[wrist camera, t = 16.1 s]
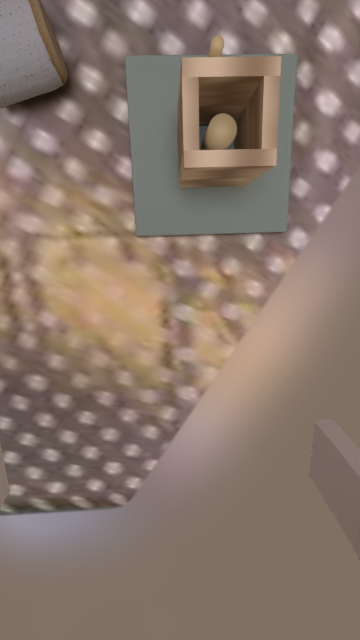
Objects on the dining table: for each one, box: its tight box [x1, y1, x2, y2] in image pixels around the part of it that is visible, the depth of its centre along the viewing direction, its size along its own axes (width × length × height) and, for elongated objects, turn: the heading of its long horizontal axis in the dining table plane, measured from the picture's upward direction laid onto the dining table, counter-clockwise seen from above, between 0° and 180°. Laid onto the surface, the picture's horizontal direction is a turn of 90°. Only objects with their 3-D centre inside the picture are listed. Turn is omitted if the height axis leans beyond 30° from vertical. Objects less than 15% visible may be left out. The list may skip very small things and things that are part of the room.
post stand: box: [125, 36, 297, 236], centre depth 32 cm, size 18×18×8 cm
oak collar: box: [177, 56, 281, 188], centre depth 30 cm, size 8×8×11 cm
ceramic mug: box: [0, 0, 68, 108], centre depth 30 cm, size 11×8×8 cm
